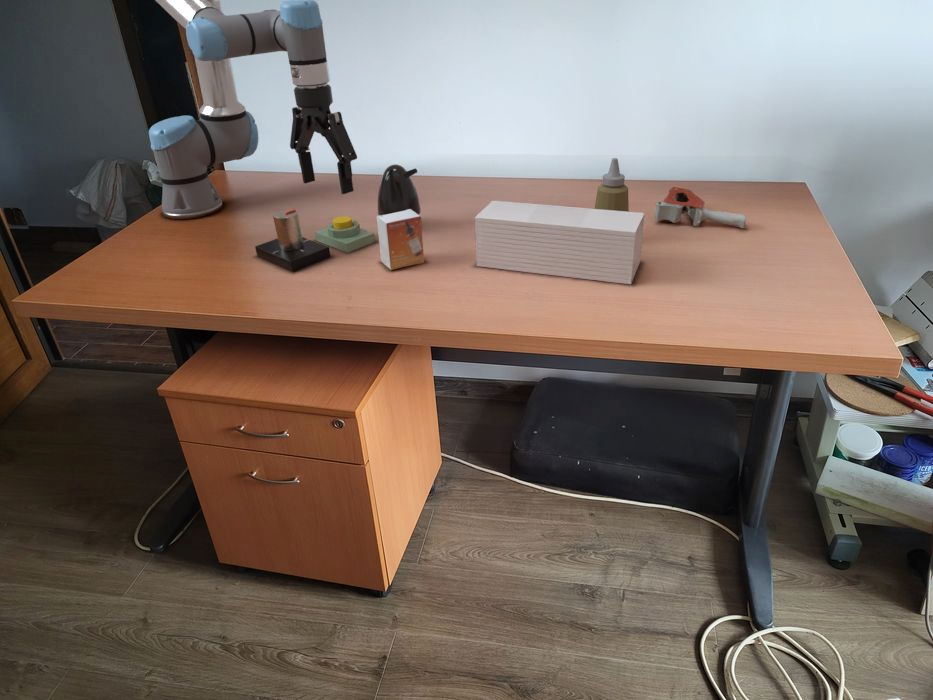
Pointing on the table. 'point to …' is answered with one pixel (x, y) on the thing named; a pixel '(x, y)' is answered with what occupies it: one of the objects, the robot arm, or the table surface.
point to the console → (293, 254)
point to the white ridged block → (560, 240)
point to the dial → (288, 230)
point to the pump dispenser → (397, 191)
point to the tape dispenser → (692, 209)
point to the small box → (400, 239)
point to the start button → (342, 222)
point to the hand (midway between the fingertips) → (328, 187)
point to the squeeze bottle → (613, 190)
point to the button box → (345, 237)
